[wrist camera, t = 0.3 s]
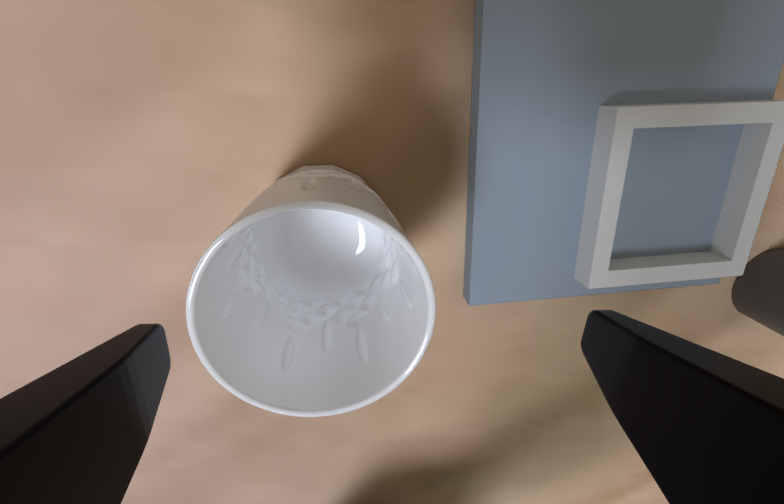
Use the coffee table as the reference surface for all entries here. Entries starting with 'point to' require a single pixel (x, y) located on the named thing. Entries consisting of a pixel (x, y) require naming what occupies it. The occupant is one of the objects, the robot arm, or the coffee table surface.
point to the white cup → (311, 298)
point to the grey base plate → (618, 144)
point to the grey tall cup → (762, 290)
